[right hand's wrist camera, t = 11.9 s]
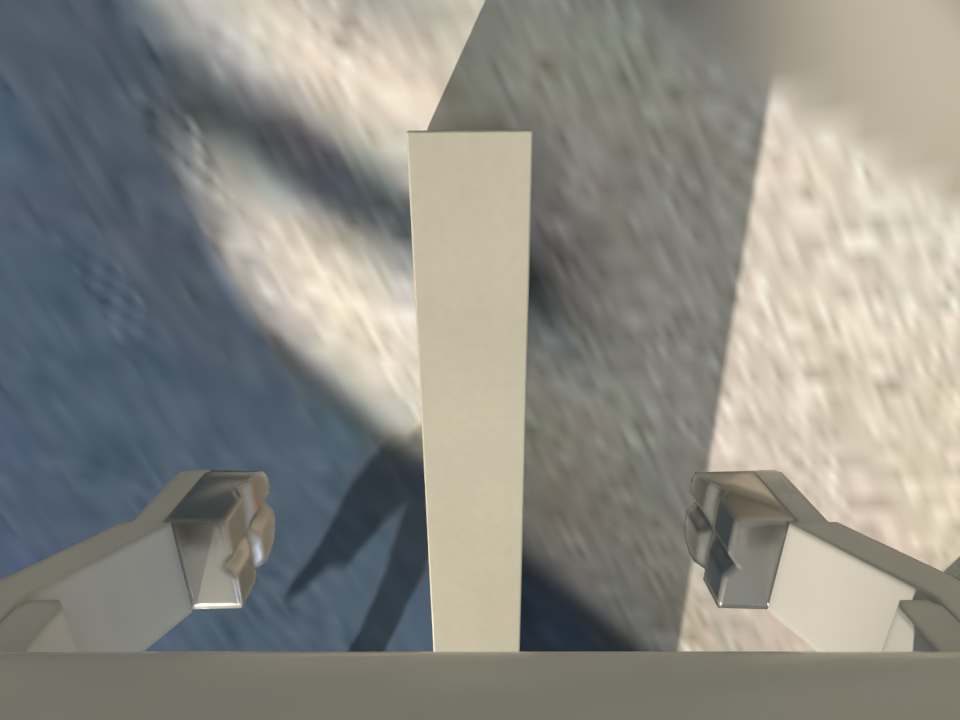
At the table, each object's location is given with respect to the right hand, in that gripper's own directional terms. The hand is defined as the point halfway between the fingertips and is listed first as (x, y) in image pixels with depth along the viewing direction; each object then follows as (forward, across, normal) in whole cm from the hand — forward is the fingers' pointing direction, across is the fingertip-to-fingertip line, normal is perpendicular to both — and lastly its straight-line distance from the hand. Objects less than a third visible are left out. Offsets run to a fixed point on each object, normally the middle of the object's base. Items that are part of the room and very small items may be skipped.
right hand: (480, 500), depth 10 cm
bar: (+23, 0, -25) cm, 34 cm away
